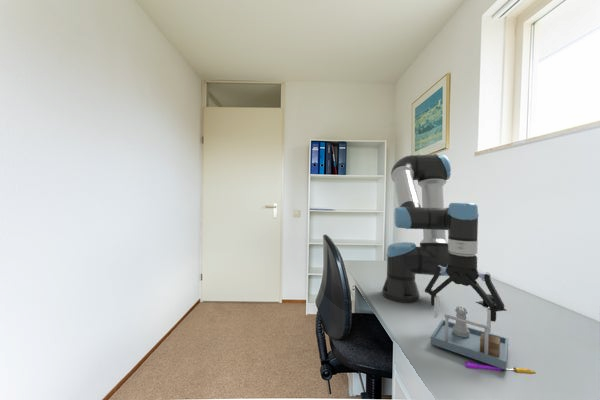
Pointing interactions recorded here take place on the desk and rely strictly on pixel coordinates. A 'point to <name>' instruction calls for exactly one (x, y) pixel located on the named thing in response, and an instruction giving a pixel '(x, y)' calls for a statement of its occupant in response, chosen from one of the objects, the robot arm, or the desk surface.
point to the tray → (469, 342)
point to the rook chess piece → (461, 324)
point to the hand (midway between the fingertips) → (461, 323)
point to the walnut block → (491, 345)
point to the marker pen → (495, 368)
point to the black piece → (486, 304)
